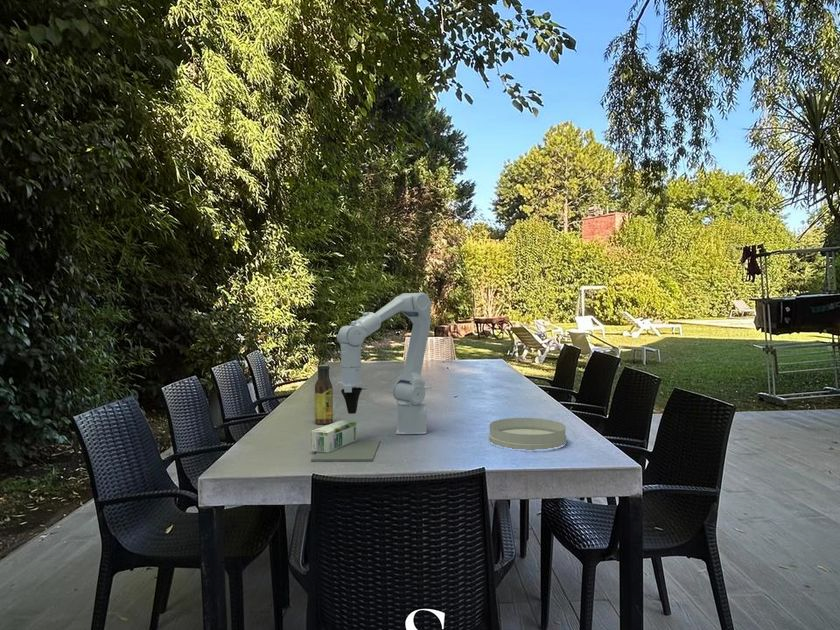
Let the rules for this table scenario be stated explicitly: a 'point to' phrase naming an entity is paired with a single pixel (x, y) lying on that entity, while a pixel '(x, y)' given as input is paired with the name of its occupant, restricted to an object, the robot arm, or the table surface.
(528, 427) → the dish
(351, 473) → the table surface
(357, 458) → the mat
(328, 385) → the sauce bottle
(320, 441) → the syrup box
